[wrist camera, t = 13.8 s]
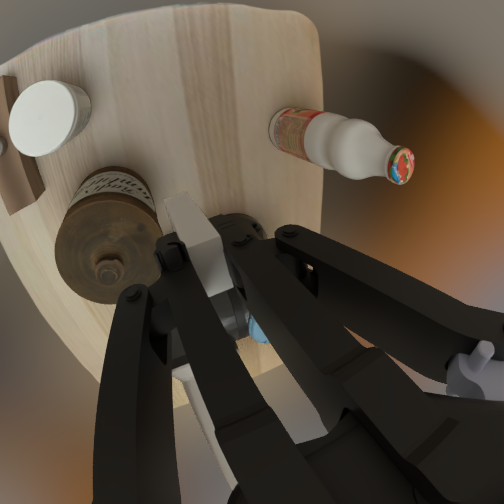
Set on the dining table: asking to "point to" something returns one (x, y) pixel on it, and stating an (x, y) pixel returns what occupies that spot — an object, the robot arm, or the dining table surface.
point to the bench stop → (15, 158)
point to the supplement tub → (48, 117)
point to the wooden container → (109, 236)
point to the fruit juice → (340, 144)
